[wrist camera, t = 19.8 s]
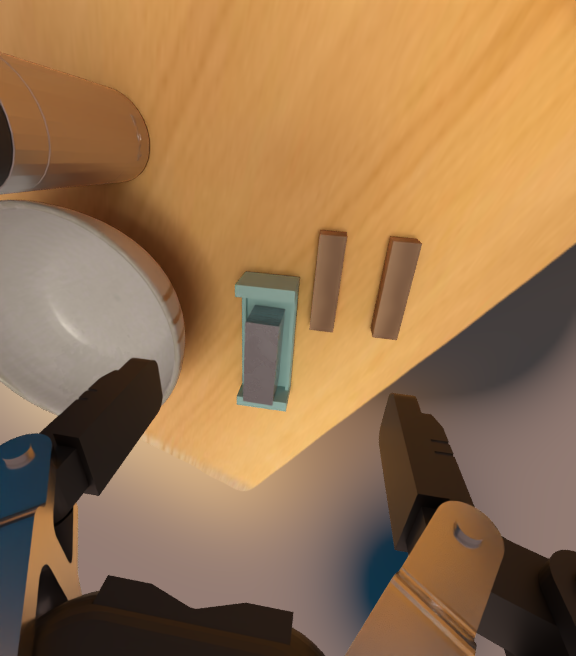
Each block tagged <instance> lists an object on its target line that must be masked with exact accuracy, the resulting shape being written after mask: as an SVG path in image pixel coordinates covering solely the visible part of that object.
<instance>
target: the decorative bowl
mask: <svg viewBox="0 0 576 656" xmlns="http://www.w3.org/2000/svg"><path fill="white" fill-rule="evenodd" d="M184 349H185V326H184V319H183V313H182V309H181V306H180V303H179V300H178V297H177V295H176V292H175V290H174V288H173V286H172V284H171V282H170V280H169V279H168V277H167V276H166V274H165V272H164V271H163V270H162V268H161V267H160V266H159V264H158V263H157V262H156V261H155V260H154V259H153V258H152V257H151V255H150V254H149V253H148V252H147V251H145V250H144V249H143V248H142V247H141V246H140V245H139V244H137V243H136V242H135V241H134V240H132V239H131V238H129V237H128V236H127V235H125V234H124V233H122V232H121V231H119V230H117V229H116V228H114V227H112V226H110V225H108V224H106V223H104V222H102V221H100V220H98V219H96V218H93V217H91V216H88V215H86V214H83V213H80V212H77V211H74V210H71V209H67V208H64V207H60V206H56V205H51V204H46V203H41V202H35V201H26V200H0V382H2V383H3V384H4V385H5V386H7V387H8V388H10V389H11V390H12V391H13V392H15V393H16V394H18V395H19V396H21V397H22V398H24V399H26V400H27V401H29V402H31V403H32V404H34V405H36V406H38V407H40V408H42V409H44V410H46V411H49V412H51V413H53V414H56V415H58V416H59V415H60V414H61V413H62V412H63V411H64V410H65V409H66V408H67V407H69V406H70V405H71V404H72V403H73V402H74V401H75V400H76V399H77V400H78V399H79V396H81V395H82V394H83V393H84V392H85V391H88V388H89V387H90V386H91V385H93V384H94V383H95V382H96V381H97V380H98V379H99V378H101V377H102V376H104V375H106V374H108V373H110V372H112V371H114V370H119V369H120V368H121V367H122V366H123V365H124V364H125V363H126V362H127V361H128V360H130V359H131V358H141V359H149V360H155V361H156V362H157V364H158V369H159V375H160V381H161V388H162V394H163V399H162V404H161V406H162V405H163V404H164V403H165V401H166V400H167V399H168V398H169V396H170V395H171V393H172V391H173V389H174V387H175V385H176V383H177V381H178V378H179V375H180V371H181V368H182V363H183V358H184Z"/></svg>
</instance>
